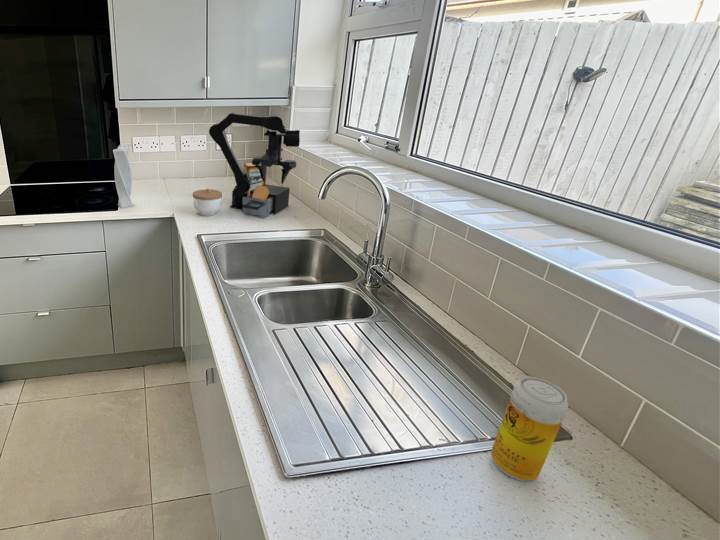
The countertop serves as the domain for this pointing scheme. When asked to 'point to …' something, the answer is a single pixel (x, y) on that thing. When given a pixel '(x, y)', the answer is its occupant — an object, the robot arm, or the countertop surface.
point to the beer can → (529, 428)
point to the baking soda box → (253, 176)
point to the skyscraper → (123, 176)
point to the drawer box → (277, 197)
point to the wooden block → (260, 193)
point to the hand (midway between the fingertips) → (272, 182)
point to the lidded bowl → (207, 201)
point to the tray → (258, 205)
